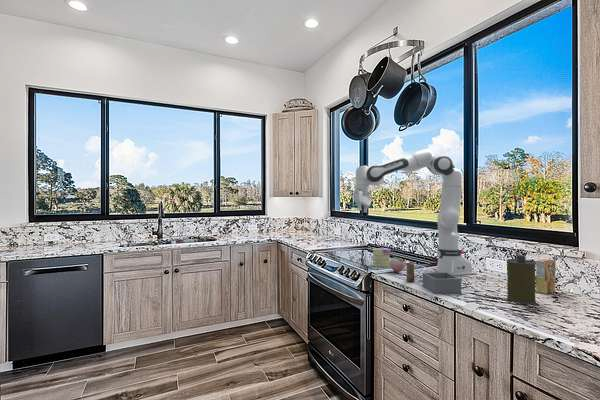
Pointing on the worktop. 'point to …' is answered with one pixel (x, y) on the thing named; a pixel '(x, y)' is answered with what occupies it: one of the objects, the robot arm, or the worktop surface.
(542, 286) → the candy box
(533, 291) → the canister
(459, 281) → the socket box
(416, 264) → the fork
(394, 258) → the decorative fruit
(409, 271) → the walnut peg
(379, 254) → the box
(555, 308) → the worktop surface
